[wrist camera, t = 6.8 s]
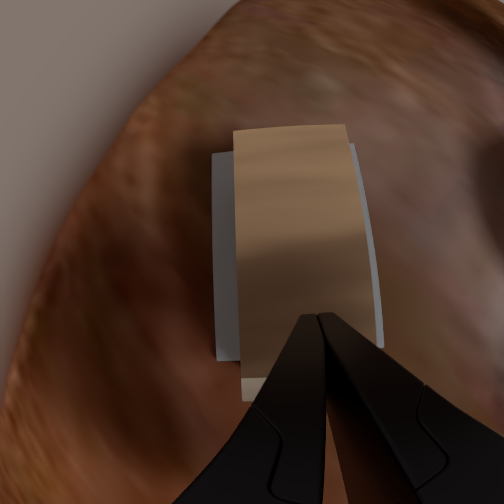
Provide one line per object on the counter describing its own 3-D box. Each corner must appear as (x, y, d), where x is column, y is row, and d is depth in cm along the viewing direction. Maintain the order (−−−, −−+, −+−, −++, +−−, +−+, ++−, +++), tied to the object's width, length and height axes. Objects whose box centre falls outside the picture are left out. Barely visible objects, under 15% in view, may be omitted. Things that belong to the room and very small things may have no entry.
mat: (381, 346, 14) (384, 347, 13) (218, 360, 14) (216, 360, 14) (352, 146, 16) (353, 143, 16) (213, 157, 17) (211, 153, 17)
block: (378, 389, 9) (344, 124, 11) (242, 401, 9) (233, 130, 12) (350, 372, 13) (331, 175, 16) (255, 380, 14) (246, 180, 16)
